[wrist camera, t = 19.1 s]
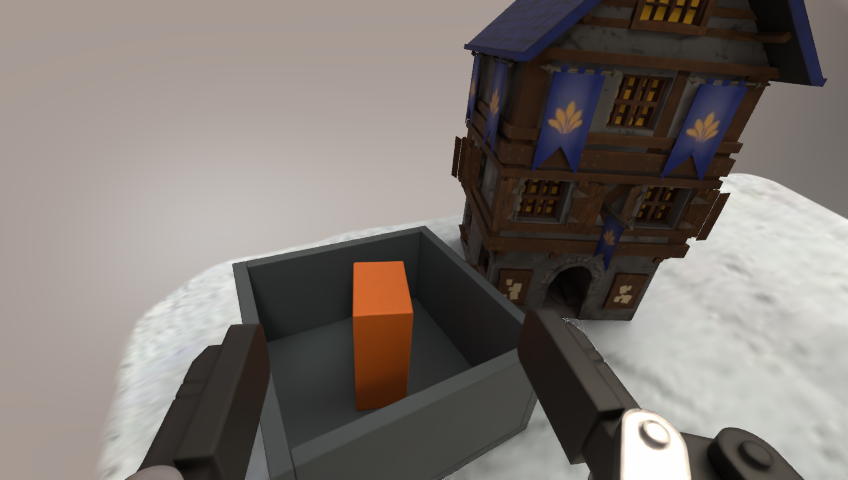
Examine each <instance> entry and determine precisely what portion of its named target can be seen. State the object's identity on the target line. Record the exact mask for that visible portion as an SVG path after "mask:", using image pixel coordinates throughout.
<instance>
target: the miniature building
mask: <svg viewBox="0 0 848 480" xmlns="http://www.w3.org/2000/svg"><path fill="white" fill-rule="evenodd" d="M464 49H467V50H472V53H471V54H472V55H473V56H474V55H475V57H474V64H473V71H472V78H471V86H470V92H469V100H468V106H467V114H466V120H467V118H468V119H469V120H467V123H466V121H465V123H466V127H467V128H468V134H467V138H466V137H463V138H462V139H460V138H459V137H457V136H456V140H455V149H454V158H453V166H452V174H451V175H452V176H454V177H455V178H457V171H458V180H459V182H461V186H462V187H463V189H464V192H465V194H466V203H465V210H464V216H463V223H462V224H461V225H459V228H460V232H461V236H460V238H461V242H462V246H463V250H464V253H465V257H466V260H467V263H468V264H469V265H470V266H471V267H472V268H473V269H474V270H476V271H477V272H478V273H479V274H480V275H481V276H482V277H483V278H485V279H486V280H487V281H488V282H489V283H490V284H491V285H493V286H494V287H495V288H496V289H497V290H498V291H499V292H500V293H502V294H503V295H504V296H505V297H506V298H507V299H508V300H509V301H511V302H512V303H513V304H514V305H515V306H516V307H517V308H518V309H520V310H521V311H522V312H523V313H524V314H526V312H527V310H528V309H531V308H549V307H552V308H554V309H555V310H556V311H557V312H558V314H559V315H560V316H561V317H566V318H577V319H601V320H632V318H633V316H634V314H635V312H636V310H637V308H638V306H639V304H640V302H641V300H642V298H643V296H644V294H645V292H646V290H647V288H648V286H649V284H650V282H651V280H652V278H653V276H654V274H655V272H656V270H657V268H658V266H659V264H660V263H661V262H662V261H663V260H664V259H669V258H684V257H685V255H686V253H687V251H688V249H689V248H690V246H689V245H687V244H686V241H687V239H688V238H691V237H695V238H696V241H697V240H706V239H707V237H708V235H709V233H710V231H711V229H712V228H713V226H714V224H715V222H716V220H717V218H718V217H719V215H720V213H721V211H722V209H723V207H724V205H725V203H726V201H727V199H728V197H729V195H730V193H723V194H721V193H720V191H719V190H717V189H720V187H721V185H722V183H723V181H721V180H719V178H720V177H727V176H728V174H729V172H730V170H731V168H732V167H733V164H734V163H735V161H736V160H734V159H731V158H729V156H730V154H731V153H739V151H740V149H741V147H742V145H743V144H742V143H739V142H737V141H738V139H739V137H740V135H741V133H742V131H743V129H744V127H745V125H746V123H747V122H748V120H749V118H750V116H751V114H752V112H753V110H754V108H755V106H756V104H757V103H758V101H759V99H760V97H761V95H762V93H763V91H764V89H765V87H766V86H770V84H769V83H768V81H776V82H784V83H792V84H800V85H809V86H820V87H823V85H824V84H825V82H826V80H827V79H825V78H823V76H822V72H821V68H820V65H819V60H818V56H817V52H816V48H815V44H814V40H813V36H812V32H811V28H810V24H809V20H808V16H807V12H806V8H805V4H804V0H516V1H515V2H514V3H513V4H512V5H510V6H509V7H508V8H507V9H506V10H505V11H504V12H503V13H502V14H501V15H499V16H498V17H497V18H496V19H495V20H494V21H493V22H492V23H490V24H489V25H488V26H487V27H486V28H485V29H484V30H483V31H482V32H481V33H479V34H478V35H477V36H476V37H475V38H474V39H473V40H472V41H470V42H469V43H468V44H465V45H464ZM475 51H477V52H479V53H476V52H475ZM476 55H477V56H476ZM461 141H462V144H461ZM460 148H461V152H460ZM459 156H460V160H459ZM458 163H459V168H458ZM713 189H715V190H713ZM718 195H719V196H718ZM717 197H718V198H717ZM716 199H717V200H716ZM715 201H716V202H715ZM714 203H715V204H714ZM713 205H714V206H713ZM712 207H713V208H712ZM711 209H712V210H711ZM710 211H711V212H710ZM709 213H710V214H709ZM707 216H708V217H707ZM706 218H707V219H706ZM705 220H706V221H705ZM704 222H705V223H704ZM703 224H704V225H703ZM702 226H703V227H702ZM701 228H702V229H701ZM700 230H701V231H700ZM699 232H700V233H699ZM698 234H699V235H698ZM697 236H698V237H697Z"/></svg>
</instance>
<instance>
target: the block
mask: <svg viewBox="0 0 848 480" xmlns="http://www.w3.org/2000/svg"><path fill="white" fill-rule="evenodd" d="M412 324H413V308H412V303H411V298H410V293H409V288H408V283H407V278H406V273H405V268H404V263H403V261H392V262H356V263H354V264H353V338H354V367H355V397H356V410H367V409H377V408H384V407H386V406H388V405H390V404H392V403H395V402H397V401H399V400H401V399H404V398H406V397H407V386H408V374H409V362H410V349H411V337H412Z"/></svg>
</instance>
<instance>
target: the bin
mask: <svg viewBox="0 0 848 480" xmlns="http://www.w3.org/2000/svg"><path fill="white" fill-rule="evenodd" d="M392 261H403V263H404V268H405V273H406V278H407V283H408V288H409V293H410V298H411V303H412V308H413V324H412V337H411V349H410V362H409V374H408V386H407V397H406V398H404V399H401V400H399V401H397V402H395V403H392V404H390V405H388V406H386V407H384V408H377V409H367V410H356V397H355V367H354V338H353V264H354V263H356V262H392ZM232 266H233V272H234V278H235V283H236V289H237V295H238V300H239V306H240V312H241V318H242V323H243V324H254V323H261V324H262V326H263V329H264V334H265V339H266V344H267V348H268V353H269V358H270V379H269V384H268V388H267V392H266V396H265V400H264V404H263V408H262V412H261V416H260V426H261V432H262V437H263V443H264V449H265V454H266V460H267V466H268V472H269V477H270V480H441V479H443V478H444V477H446V476H448V475H449V474H451V473H453V472H454V471H456V470H458V469H459V468H461V467H463V466H464V465H466V464H468V463H469V462H471V461H473V460H474V459H476V458H478V457H479V456H481V455H483V454H484V453H486V452H488V451H489V450H491V449H493V448H494V447H496V446H498V445H499V444H501V443H503V442H504V441H506V440H508V439H509V438H511V437H513V436H514V435H516V434H518V433H519V432H521V431H523V430H524V429H526V427H527V425H528V421H529V420H530V417H531V414H532V412H533V409H534V406H535V404H536V401H537V396H536V393H535V391H534V389H533V387H532V385H531V383H530V381H529V379H528V377H527V375H526V373H525V371H524V369H523V367H522V365H521V363H520V361H519V358H518V353H517V342H518V339H519V335H520V332H521V328H522V325H523V321H524V318H525V314H524V313H523V312H522V311H521V310H520V309H518V308H517V307H516V306H515V305H514V304H513V303H512V302H511V301H509V300H508V299H507V298H506V297H505V296H504V295H503V294H502V293H500V292H499V291H498V290H497V289H496V288H495V287H494V286H493V285H491V284H490V283H489V282H488V281H487V280H486V279H485V278H483V277H482V276H481V275H480V274H479V273H478V272H477V271H476V270H474V269H473V268H472V267H471V266H470V265H469V264H468V263H467V262H465V261H464V260H463V259H462V258H461V257H460V256H459V255H457V254H456V253H455V252H454V251H453V250H452V249H451V248H450V247H448V246H447V245H446V244H445V243H444V242H443V241H442V240H441V239H439V238H438V237H437V236H436V235H435V234H434V233H433V232H431V231H430V230H429V229H428V228H427V227H426V226H421V227H417V228H411V229H406V230H401V231H396V232H391V233H386V234H381V235H376V236H371V237H366V238H361V239H356V240H351V241H345V242H340V243H335V244H330V245H325V246H320V247H315V248H310V249H305V250H300V251H295V252H290V253H285V254H280V255H275V256H270V257H265V258H260V259H255V260H250V261H246V262H245V261H244V262H239V263H234V264H232Z"/></svg>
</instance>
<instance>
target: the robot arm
mask: <svg viewBox="0 0 848 480" xmlns="http://www.w3.org/2000/svg"><path fill="white" fill-rule="evenodd" d="M517 353H518V358H519V361H520V363H521V365H522V367H523V369H524V371H525V373H526V375H527V377H528V379H529V381H530V383H531V385H532V387H533V389H534V391H535V393H536V396H537V398H538V400H539V402H540V404H541V406H542V408H543V410H544V412H545V414H546V416H547V418H548V420H549V422H550V424H551V426H552V428H553V430H554V432H555V434H556V436H557V438H558V440H559V442H560V444H561V446H562V448H563V450H564V452H565V454H566V456H567V458H568V460H569V462H570V464H571V465H572V464H579V463H586V464H587V466H588V468H589V469H590V471H591V472H590V474H589V476H588V480H804V479H803V478H802V477H801V476H800V475H799V474H798V473H797V472H796V471H795V469H794V468H793V467H792V466H791V465H790V464H789V463H788V462H787V461H786V460H785V459H784V458H783V457H782V456H781V455H780V454H779V453H778V452H777V451H776V450H775V449H774V448H773V447H772V446H771V445H769V444H768V443H767V442H765V441H764V440H762V439H761V438H759V437H758V436H756V435H754V434H752V433H750V432H747V431H745V430H742V429H739V428H731V427H729V428H724V429H722V430H721V431H720V432H719V433H718V435H717V436H716V437H715V438H714V439H711V438H706V437H702V436H697V435H692V434H687V433H682V432H678V430H677V429H676V428H675V427H674V426H673V425H672V424H671V423H669V422H668V421H667V420H666V419H664V418H663V417H661V416H659V415H658V414H656V413H654V412H651V411H648V410H645V409H641V408H640V407H639V405H638V404H637V403H636V401H635V400H634V399H633V397H632V396H631V395H630V394H629V392H628V391H627V390H626V388H625V387H624V386H623V384H622V383H621V382H620V380H619V379H618V378H617V376H616V375H615V374H614V372H613V371H612V370H611V368H610V367H609V366H608V364H607V363H606V362H604V361H603V358H602V356H601V355H600V354H599V352H598V351H596V350H595V347H594V346H593V344H592V343H591V342H590V340H589V339H588V338H587V336H586V335H585V334H584V333H583V332H581V331H580V330H579V329H577V328H576V327H575V326H574V325H572V324H571V323H565V322H564V321H563V319H562V318H561V316H560V315H559V314H558V312H557V311H556V310H555V309H554V308H552V307H549V308H531V309H528V310H527V312H526V314H525V318H524V321H523V325H522V328H521V332H520V335H519V339H518V342H517ZM269 379H270V358H269V353H268V348H267V344H266V339H265V334H264V329H263V326H262V324H261V323H254V324H236V325H231V326H230V327H229V329H228V331H227V333H226V335H225V338H224V340H223V342H222V345H212V346H208V347H207V348H206V349H205V350H204V351H203V352H202V353H201V354H200V355H199V356H198V357H197V358H196V359H195V360H194V361H193V362H192V364H191V366H190V368H189V370H188V372H187V374H186V376H185V378H184V380H183V384H181V386H180V388H179V390H178V392H177V394H176V399H175V400H173V402H172V404H171V406H170V408H169V410H168V412H167V414H166V416H165V418H164V420H163V422H162V424H161V426H160V428H159V430H158V432H157V434H156V436H155V438H154V440H153V442H152V444H151V446H150V448H149V450H148V452H147V454H146V456H145V458H144V460H143V462H142V464H141V466H140V467H139V469H138V470H137V472H136V473H134V474H133V475H131V476H129V477H128V478H126V479H125V480H245V477H246V473H247V469H248V465H249V461H250V456H251V452H252V448H253V444H254V440H255V436H256V432H257V428H258V424H259V420H260V416H261V412H262V408H263V404H264V400H265V396H266V392H267V388H268V384H269Z"/></svg>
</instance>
